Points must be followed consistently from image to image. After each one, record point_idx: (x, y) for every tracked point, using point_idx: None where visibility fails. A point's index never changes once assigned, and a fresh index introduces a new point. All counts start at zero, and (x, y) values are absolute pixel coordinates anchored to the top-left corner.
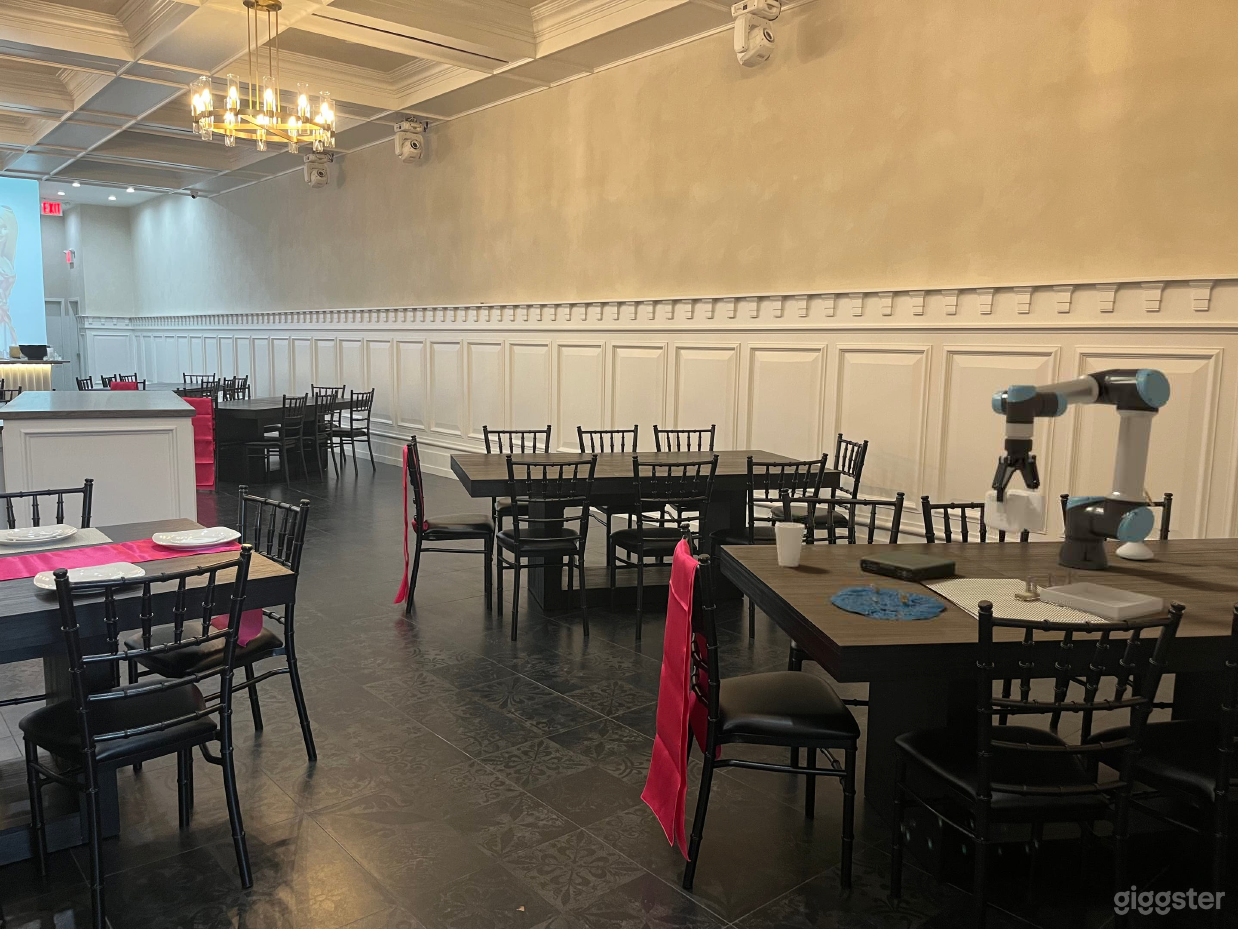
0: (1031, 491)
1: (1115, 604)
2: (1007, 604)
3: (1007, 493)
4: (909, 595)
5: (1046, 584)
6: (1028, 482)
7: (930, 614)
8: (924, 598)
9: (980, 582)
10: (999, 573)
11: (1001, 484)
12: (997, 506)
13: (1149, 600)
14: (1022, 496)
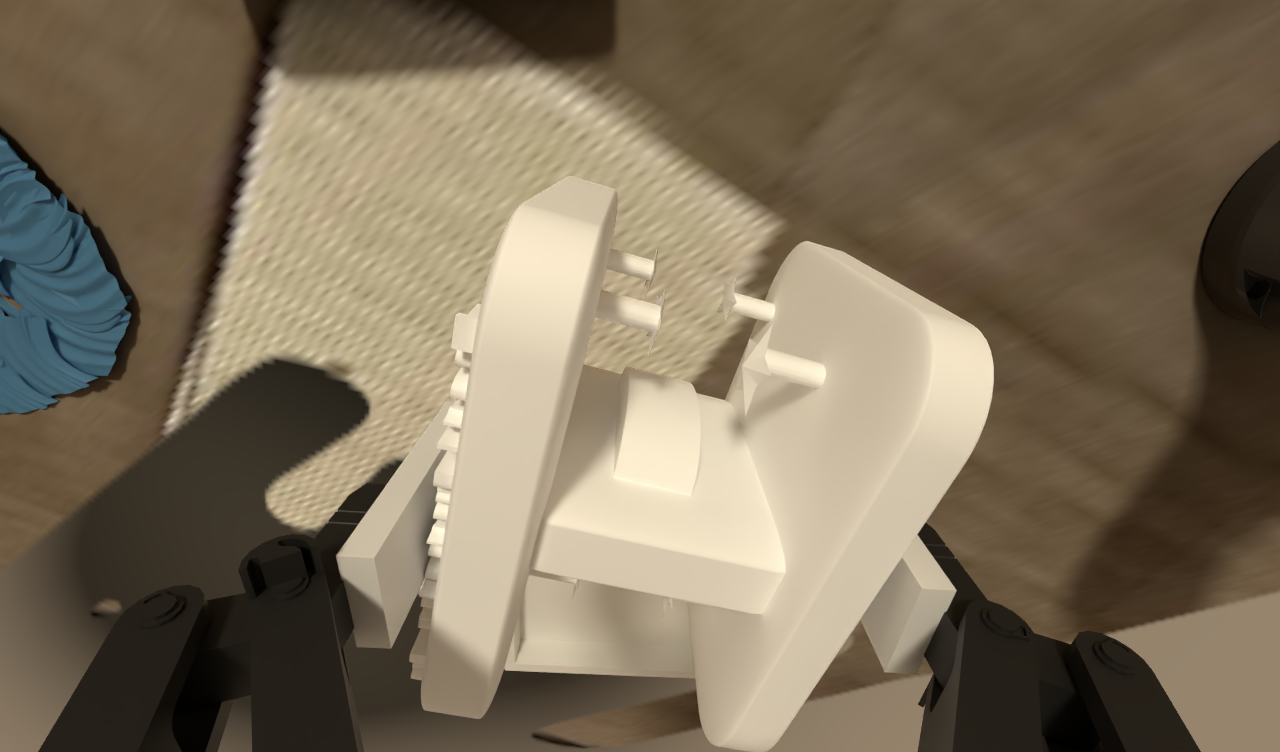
0: (874, 640)
1: (643, 592)
2: (374, 435)
3: (463, 592)
4: (14, 223)
5: None
6: (936, 727)
7: (12, 392)
8: (72, 275)
9: None
10: (825, 103)
11: (198, 744)
12: (424, 440)
13: (655, 673)
14: (475, 716)
